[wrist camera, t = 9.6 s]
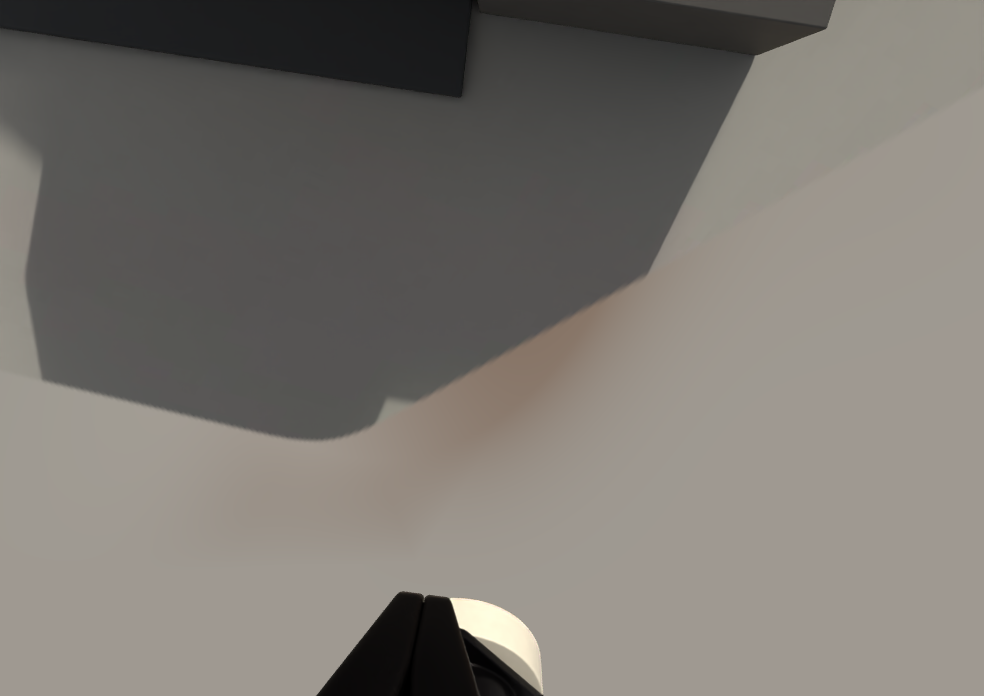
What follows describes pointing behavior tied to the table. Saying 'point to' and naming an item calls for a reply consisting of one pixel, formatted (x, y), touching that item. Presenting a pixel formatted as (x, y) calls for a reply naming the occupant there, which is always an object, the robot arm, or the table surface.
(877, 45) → the table surface
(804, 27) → the stand
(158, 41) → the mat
